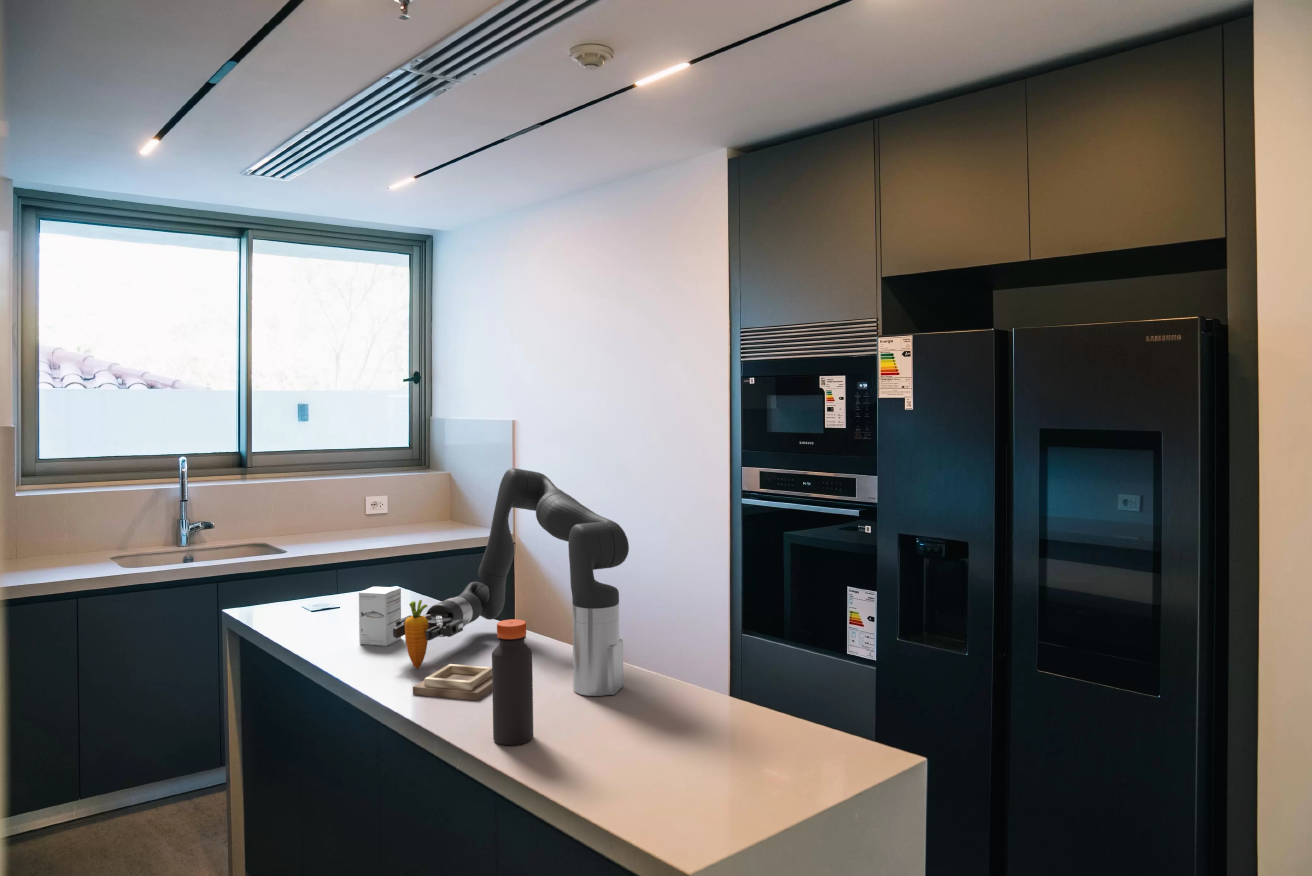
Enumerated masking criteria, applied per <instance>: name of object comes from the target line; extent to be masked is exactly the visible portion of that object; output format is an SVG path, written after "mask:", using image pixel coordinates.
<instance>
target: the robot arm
mask: <svg viewBox="0 0 1312 876" xmlns="http://www.w3.org/2000/svg"><path fill="white" fill-rule="evenodd" d="M513 508H514V509H522V510H527V511H534V512H535V517H536V520H537V522H538V524H539V525H540V526H541V528H542V529H543V530H545V532H547V533H548V534H549V535H551V536H552V537H553V538H556V539H558V540H561V541H564V542H567V543H568V545H567V546H568V559H569V560H568V561H569V574H570V575H569V576H570V577H569V578H570V579H569V580H570V582H569V583H570V590H571V596H572V598H571V599H572V659H573V660H572V664H573V665H572V667H573V668H572V669H573V670H572V671H573V675H572V676H573V677H572V680H573V681H572V683H573V691H574V692H575V693H576V694H578V695H583V696H589V697H600V696H602V697H603V696H614V695H615V694H617V693H618V692H619V691H620V689H621V688H623V686H624V642H623V641H624V640H623V639H622V638H620V593H619V589H618V588H617V587H615V586H613V585H610V584H606V583H602V582H599V581H598V580H596V579H595V575H594V570H595V571H596V570H603V569H611V568H612V569H613V568H615V567H618V566H620V565H622V564H623V563H624V562H625V561H626V559H627V557H628V556H629V550H630V546H629V540H628V536H627V534H626V533H625V531H624V529H623V528H622V526H620V524H618V523H617V522H616V521H613V520H611V519H609V518H606V517H604V516H602V515H599V514H597V513H596V512H594V511H592V510H591V509H590V508H588V507H586V506H584V505H583V504H582V503H580V502H579V501H578V500H577V499H576V498H574V497H572V496H571V495H569V494H568V493H566V492H565V491H563V490H561V489H560V488H558V487H557V486H556V485H555V484H554V483H553V482H552V480H551V479H550V478H549V477H548V476H546V475H545V474H543V473H541V472H538V471H533V470H528V469H521V468H509V469H507V470H506V471H505V473H504V474H503V476H502V479H501V481H500V483H499V488H498V491H497V496H496V502H495V506H494V511H493V516H492V521H491V527H490V532H489V536H488V537H489V538H488V541H487V544H486V548H485V550H484V554H483V557H482V559H481V562H480V565H479V567H478V573H477V575H478V577H479V578H480V580H482V582H483V583H482V582H480V581H472V582H470V583H468V584H467V585H466V586H465V588H464V590H463V591H462V592H461V593H460V594H458V595H457V596H454V597H449V598H447V599H445V600H443V601H440V602H438V603H436V604H433V605H431V607H429V609H428V610H427V611H426V613H425V614H423V615H422V616H424V617H425V618H426V619H427V620H428V630H427V631H426V640H428V641H432V640H435V639H436V638H444V637H448V638H451V637H453V636H454V635H457V634H458V633H461V632H463V631H464V627H466V625H468V624H471V623H473V622H475V621H476V620H477V619H479V617H482V618H483V619H485V620H490V621H492V620H494V619H496V618H497V617H499V616H500V615H501V613H502V612H503V610H504V605H505V601H506V585H507V577H508V574H509V571H510V569H511V567H512V563H513V560H514V557H515V544H514V540H513V537H512V534H511V530H510V529H511V528H510V524H509V523H510V522H509V519H510V513H511V510H512V509H513ZM484 583H485V584H484ZM411 616H412V615H408V616H405V617H403V618H402V617H401V619H400V620H398V621H396V627H395V628H394V629H393V636H394V638H399V637H401V638H402V637H403V636H405V620H406V619H407V618H408V617H411Z"/></svg>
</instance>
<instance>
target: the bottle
mask: <svg viewBox="0 0 1312 876" xmlns="http://www.w3.org/2000/svg"><path fill="white" fill-rule="evenodd" d="M526 635H527V622H526V621H525V620H523V619H517V618H516V619H515V618H514V619H512V618H511V619H503V620H501V621H498V622H497V623H496V637H497V640H498V645H497V646H495V648H494V649H493V651H492V652H491V667H492V733H493V734H492V736H493V737H492V739H493V741H494V742H495V743H496V744H497V745H500V746H506V747H507V746H509V747H510V746H511V747H513V746H520V745H524V744H527V743H528V742H531V740H532V739H533V738H534V699H533V697H534V695H533V693H534V691H533V689H534V688H533V680H534V679H533V651H532V649H531V648H530V647H529V645H527V643H525V639H526V638H527V636H526Z"/></svg>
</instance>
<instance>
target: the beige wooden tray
mask: <svg viewBox="0 0 1312 876" xmlns="http://www.w3.org/2000/svg"><path fill="white" fill-rule="evenodd" d="M491 691H492V666H491V667H489V666H478V665H469V664H468V665H467V664H457V663H456V664H455V663H454V664H453V663H449V664H447V665H445V666H444V667H441V668H440V669H439V670H436V671H435V672H433V673H432V674H430V675H428V676H426V677H425V678H424V680H421V681H420V682H418V683H417V684H415V685H413V686H412V695H414V696H415V695H416V696H428V697H437V698H445V699H446V698H448V699H458V700H467V701H470V700H471V701H479V700H480V699H482V698H483V697H485V696H486V695H487V694H488V693H489V694H490V693H491Z"/></svg>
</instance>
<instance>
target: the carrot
mask: <svg viewBox="0 0 1312 876" xmlns="http://www.w3.org/2000/svg"><path fill="white" fill-rule="evenodd" d="M422 602H423V600H422V599H419V600H418V604H417V606H416V601H415V600H412V601H411V602H409V607H410V609H411V613H412V615H411V617H408V618H407V619H406V620H405V635H404V636H405V637H404V638H405V645H406V650H407V653H408V657H409V660H410V662H411V663H412V666H413V667H414V668H415V669H416V670H418V669H419V668H420V667H421V666H422V665H423V664H422V663H423V662H424V659H425V657H426V652H427V647H428V641H429V640H426V631H427V630H428V620H427V619H426V618H425V617H424V616H423V615H421V614H422V612H423V611H424V609H425V608H427V607H428V604H426V603H425V604H423V605H422ZM416 607H417V608H416Z"/></svg>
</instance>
